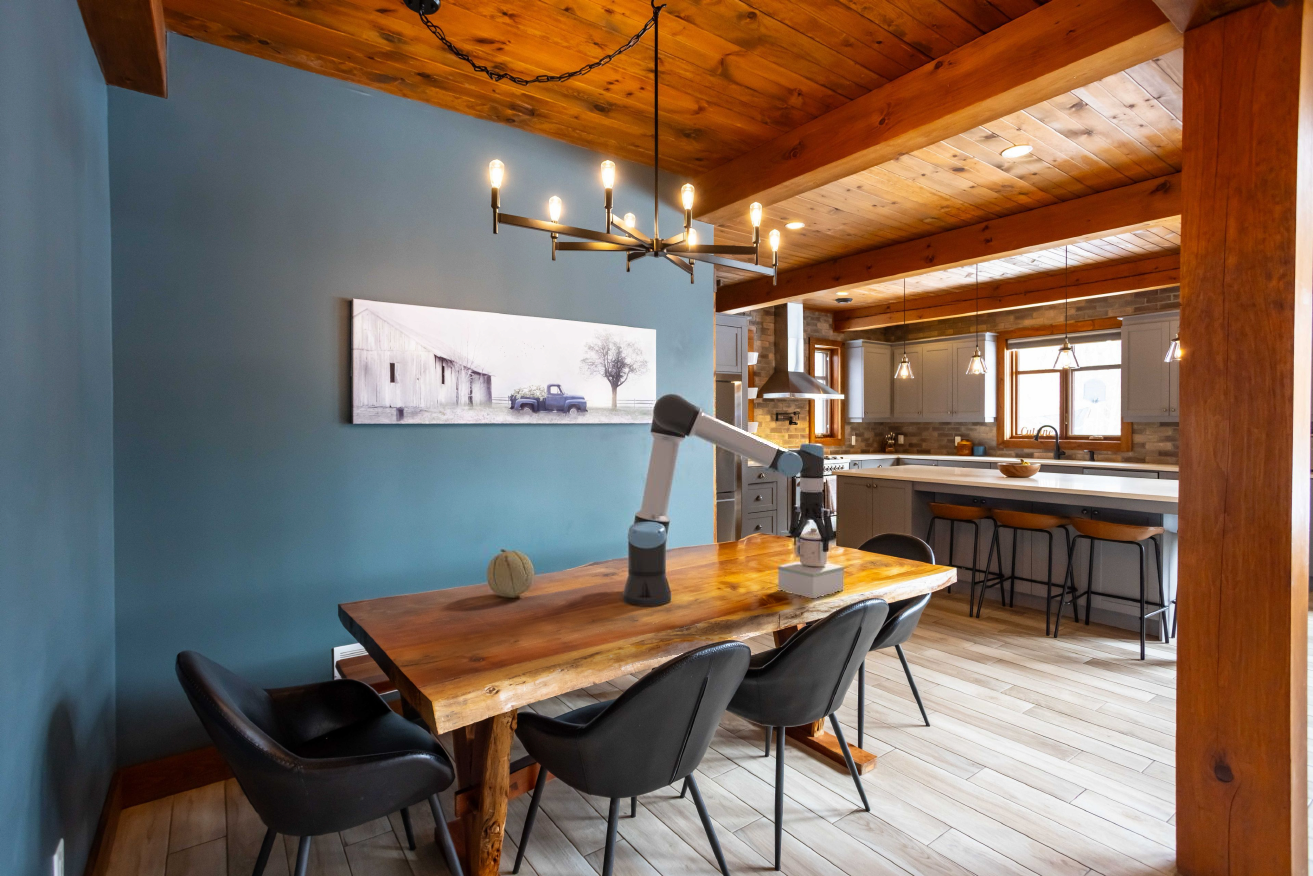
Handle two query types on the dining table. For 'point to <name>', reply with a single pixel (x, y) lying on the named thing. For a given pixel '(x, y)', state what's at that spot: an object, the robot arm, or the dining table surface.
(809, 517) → the robot arm
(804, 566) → the stand
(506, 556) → the cantaloupe
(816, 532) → the teacup with lid
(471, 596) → the dining table surface
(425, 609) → the dining table surface
